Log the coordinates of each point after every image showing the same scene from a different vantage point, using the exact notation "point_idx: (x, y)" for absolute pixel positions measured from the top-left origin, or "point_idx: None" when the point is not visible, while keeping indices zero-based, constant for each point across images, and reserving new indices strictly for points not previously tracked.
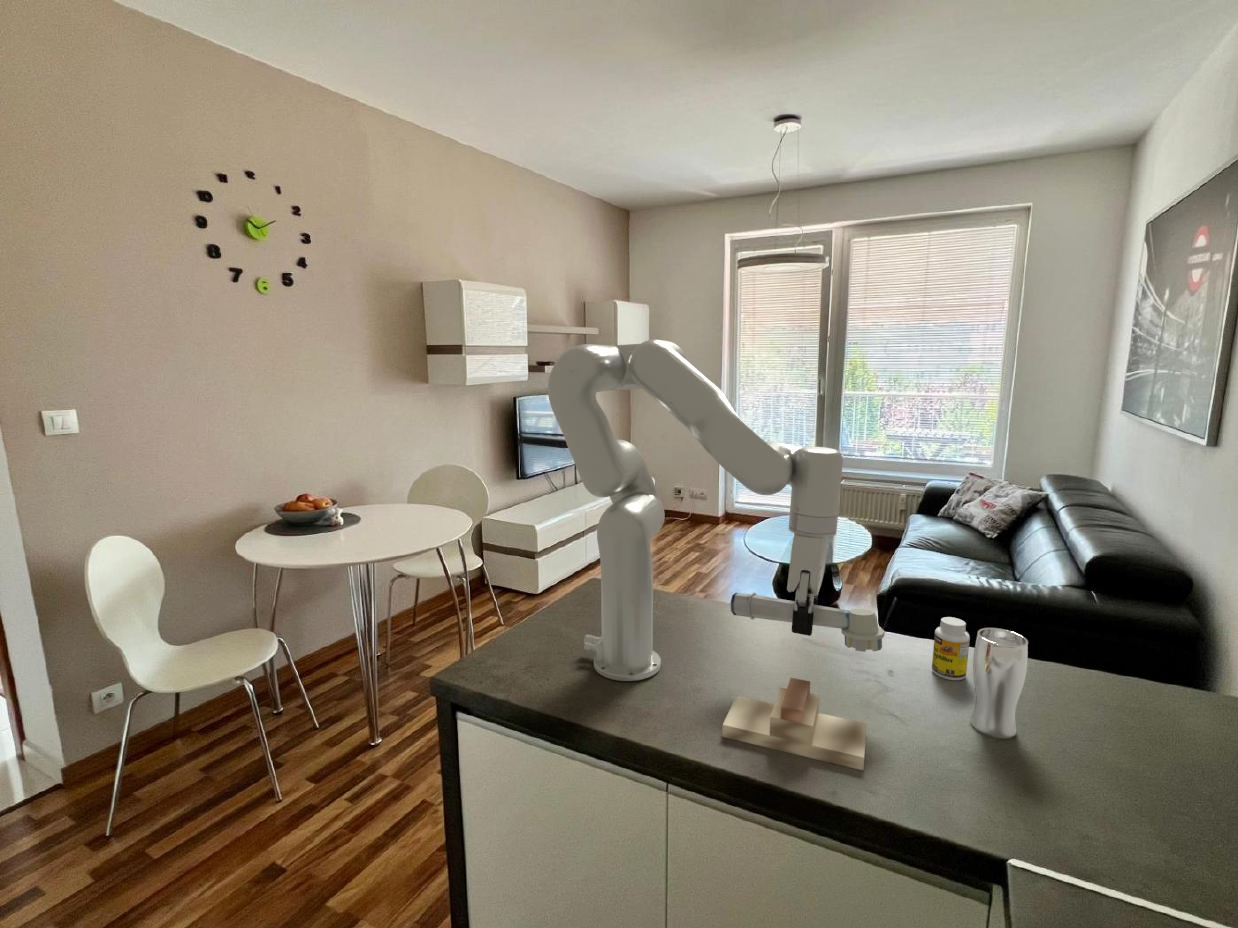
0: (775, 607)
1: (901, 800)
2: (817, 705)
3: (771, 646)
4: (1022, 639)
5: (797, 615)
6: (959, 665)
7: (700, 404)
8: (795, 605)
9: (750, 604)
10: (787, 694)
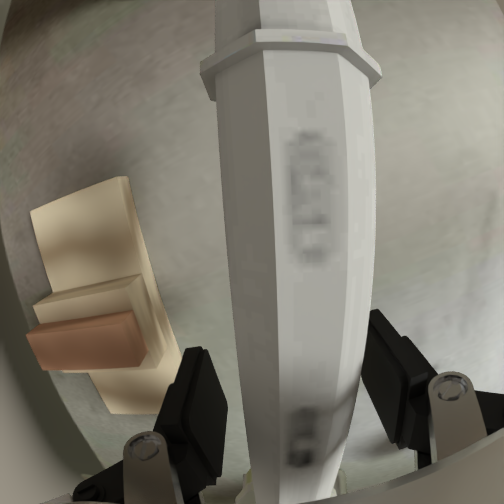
0: (234, 268)
1: (105, 430)
2: (119, 370)
3: (438, 136)
4: None
5: (155, 428)
6: None
7: None
8: (127, 462)
9: (217, 75)
10: (59, 336)
